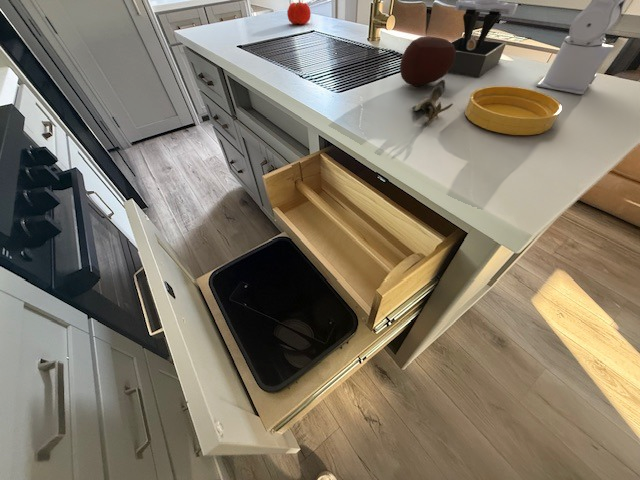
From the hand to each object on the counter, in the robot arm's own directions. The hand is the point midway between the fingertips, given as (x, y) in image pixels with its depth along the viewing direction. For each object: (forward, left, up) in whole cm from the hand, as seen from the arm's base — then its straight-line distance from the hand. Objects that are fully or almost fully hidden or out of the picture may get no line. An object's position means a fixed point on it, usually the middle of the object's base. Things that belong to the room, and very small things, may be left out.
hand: (472, 46), depth 75 cm
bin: (0, 0, -5) cm, 5 cm away
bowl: (-20, +28, -5) cm, 35 cm away
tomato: (+87, -18, -5) cm, 89 cm away
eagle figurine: (-7, +37, -5) cm, 38 cm away
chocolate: (0, 0, -1) cm, 1 cm away
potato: (+3, +21, -5) cm, 22 cm away
